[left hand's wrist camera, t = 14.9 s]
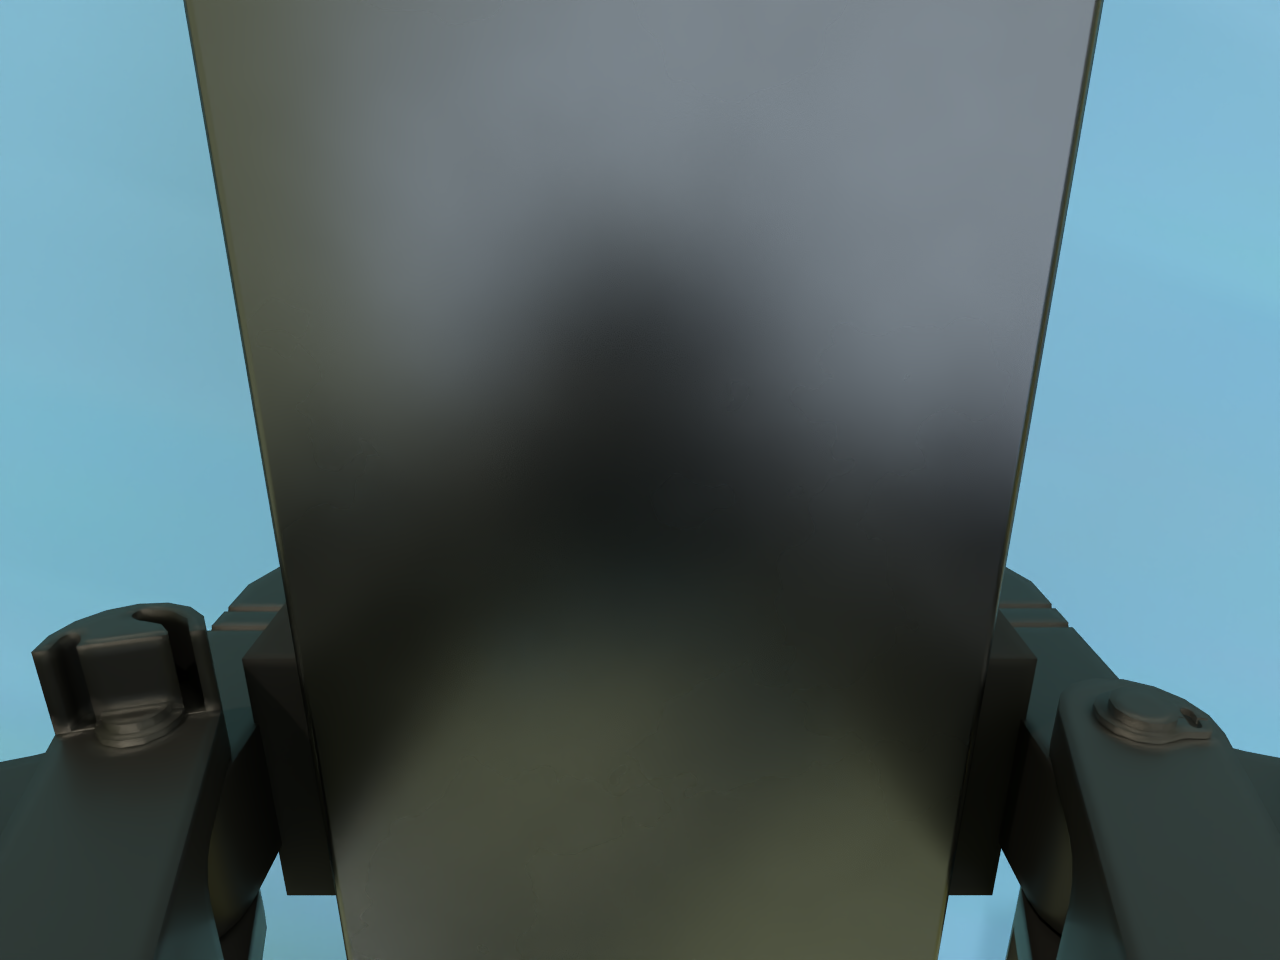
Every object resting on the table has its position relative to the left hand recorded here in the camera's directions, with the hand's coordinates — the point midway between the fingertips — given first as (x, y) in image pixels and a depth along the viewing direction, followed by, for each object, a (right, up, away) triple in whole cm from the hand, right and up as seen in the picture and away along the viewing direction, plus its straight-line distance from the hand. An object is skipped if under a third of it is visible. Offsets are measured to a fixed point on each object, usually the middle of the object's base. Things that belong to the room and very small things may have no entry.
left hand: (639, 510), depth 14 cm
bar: (0, +10, -3) cm, 10 cm away
